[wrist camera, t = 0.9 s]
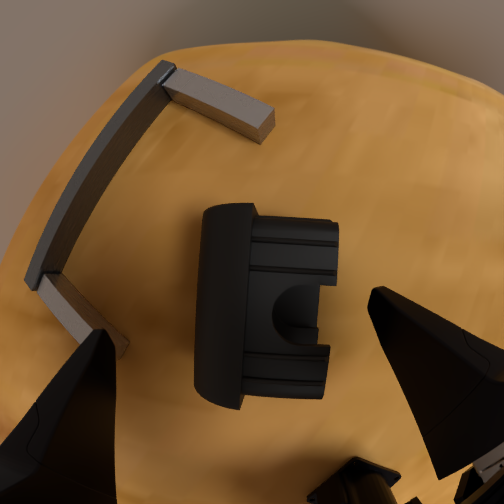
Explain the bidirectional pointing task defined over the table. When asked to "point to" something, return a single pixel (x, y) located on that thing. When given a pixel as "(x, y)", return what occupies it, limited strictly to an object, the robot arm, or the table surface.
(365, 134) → the table surface
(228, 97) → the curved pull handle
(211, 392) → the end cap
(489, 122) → the table surface
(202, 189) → the table surface
